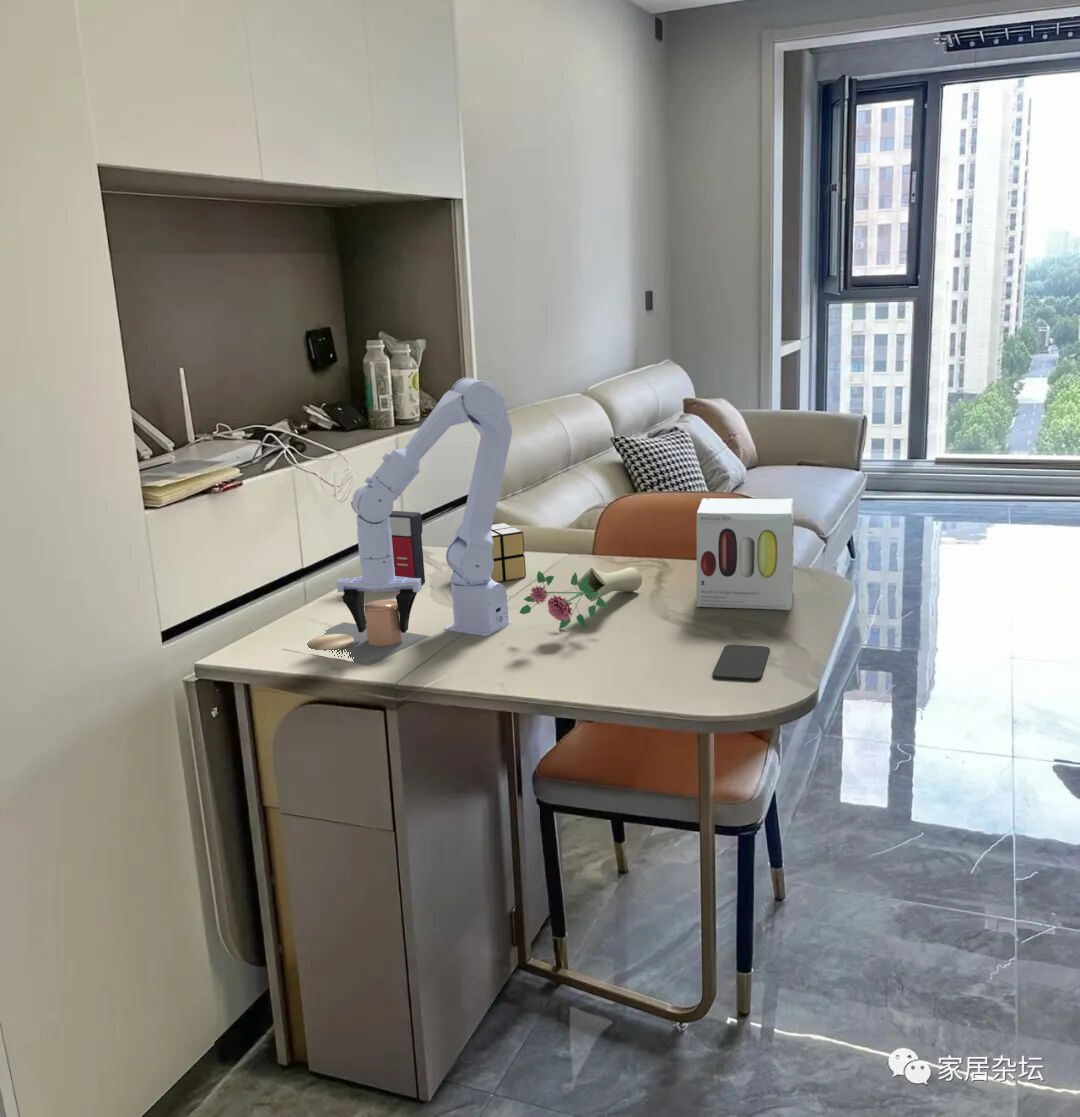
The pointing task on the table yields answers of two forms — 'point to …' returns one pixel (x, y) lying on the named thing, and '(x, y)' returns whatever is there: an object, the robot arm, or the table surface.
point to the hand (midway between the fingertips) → (383, 630)
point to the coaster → (330, 642)
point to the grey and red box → (407, 544)
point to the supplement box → (745, 553)
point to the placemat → (368, 652)
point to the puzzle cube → (507, 553)
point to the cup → (382, 622)
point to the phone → (741, 663)
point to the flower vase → (584, 592)
